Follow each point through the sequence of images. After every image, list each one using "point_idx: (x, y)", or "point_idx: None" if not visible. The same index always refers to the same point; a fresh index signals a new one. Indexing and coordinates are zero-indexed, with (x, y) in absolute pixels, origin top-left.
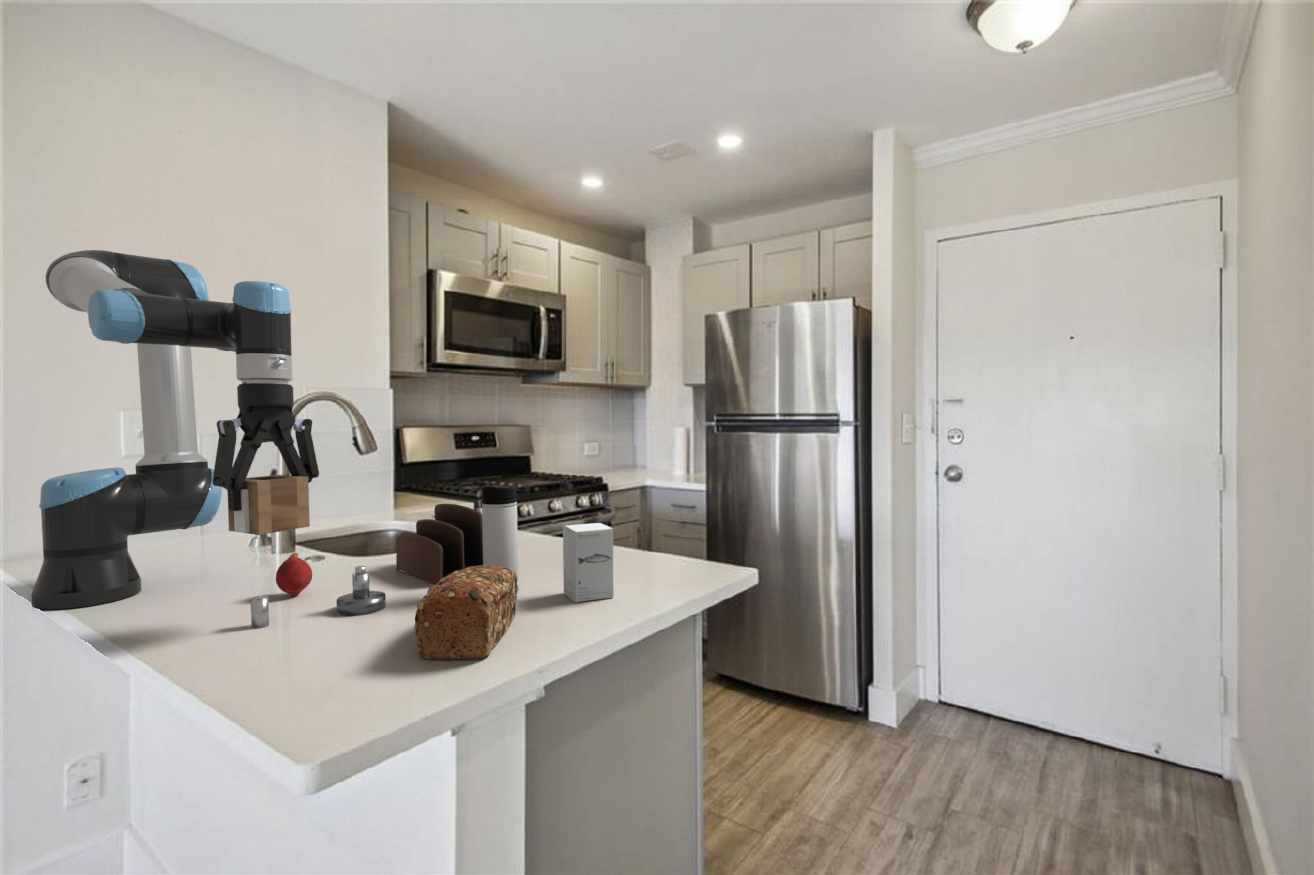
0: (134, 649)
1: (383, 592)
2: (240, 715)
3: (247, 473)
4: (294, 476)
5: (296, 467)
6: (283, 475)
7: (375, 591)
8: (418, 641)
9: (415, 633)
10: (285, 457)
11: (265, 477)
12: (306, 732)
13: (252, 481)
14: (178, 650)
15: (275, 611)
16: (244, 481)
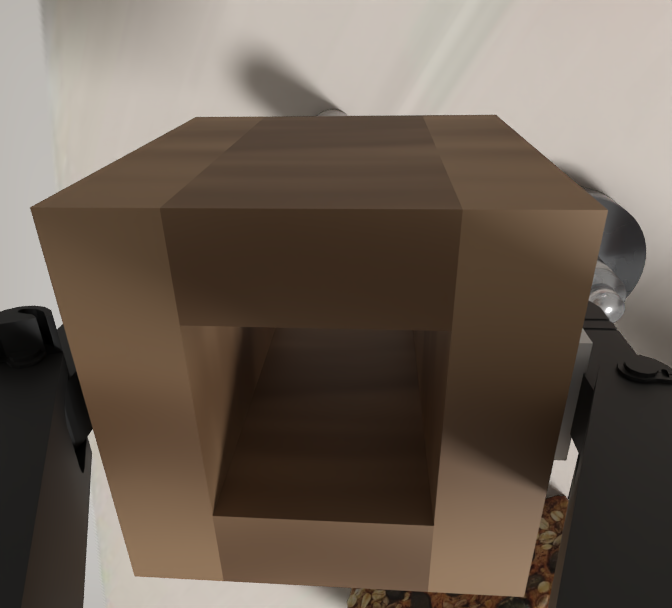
0: (51, 11)
1: (636, 283)
2: (104, 503)
3: (84, 533)
4: (521, 491)
5: (554, 575)
6: (575, 321)
7: (641, 252)
8: (351, 591)
9: (347, 602)
10: (554, 602)
11: (366, 328)
12: (139, 586)
13: (125, 530)
14: (125, 136)
15: (445, 18)
16: (88, 481)
